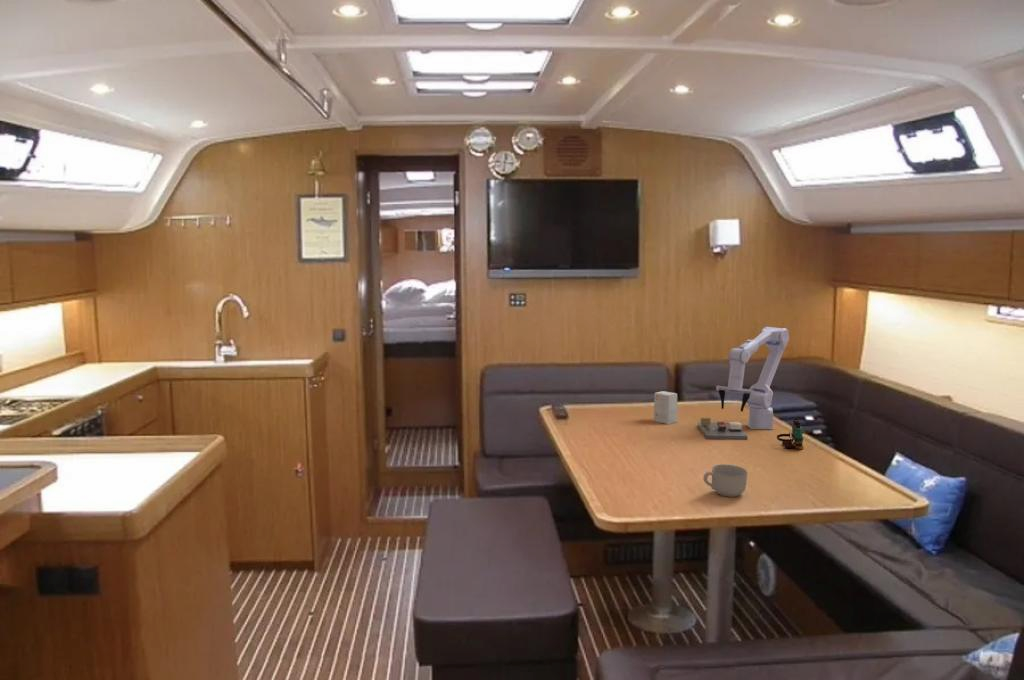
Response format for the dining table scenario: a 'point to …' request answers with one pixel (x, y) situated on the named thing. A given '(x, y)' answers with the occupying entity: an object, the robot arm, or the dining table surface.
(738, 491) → the teacup
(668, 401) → the small box
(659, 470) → the dining table surface
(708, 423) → the block
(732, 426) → the push button
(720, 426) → the rocker switch
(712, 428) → the switch panel
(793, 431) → the figurine with basket
